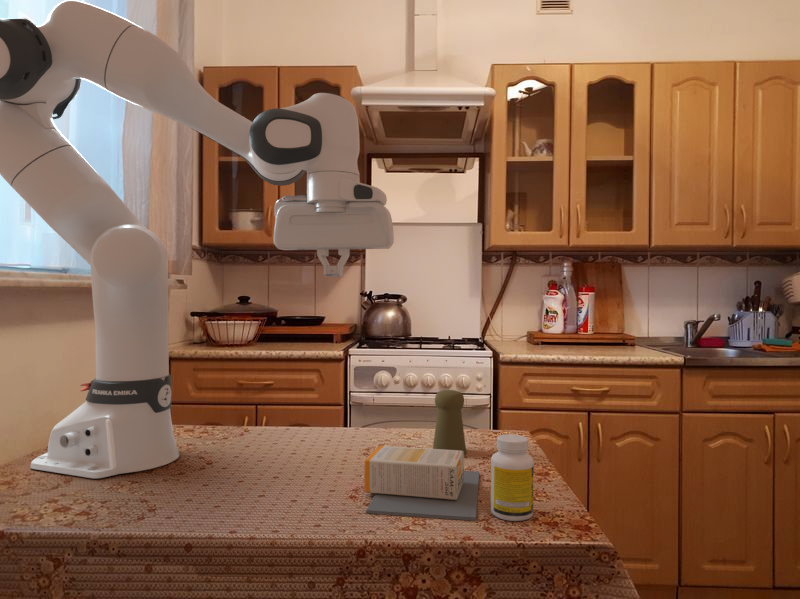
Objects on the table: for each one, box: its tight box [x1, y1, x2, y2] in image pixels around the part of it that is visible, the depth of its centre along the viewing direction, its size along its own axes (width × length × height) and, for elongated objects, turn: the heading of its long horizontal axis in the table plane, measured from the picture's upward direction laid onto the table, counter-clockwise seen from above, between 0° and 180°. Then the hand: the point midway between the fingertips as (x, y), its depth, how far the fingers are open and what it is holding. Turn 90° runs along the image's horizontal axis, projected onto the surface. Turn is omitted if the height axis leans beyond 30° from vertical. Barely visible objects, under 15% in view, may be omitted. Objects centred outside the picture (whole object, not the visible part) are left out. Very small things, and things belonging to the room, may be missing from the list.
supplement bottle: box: [490, 433, 535, 522], centre depth 71 cm, size 5×5×10 cm
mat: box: [365, 470, 480, 522], centre depth 79 cm, size 14×18×1 cm
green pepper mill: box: [432, 389, 467, 456], centre depth 98 cm, size 6×6×11 cm
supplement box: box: [363, 445, 465, 500], centre depth 79 cm, size 8×5×13 cm
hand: (333, 276), depth 93 cm, fingers closed
